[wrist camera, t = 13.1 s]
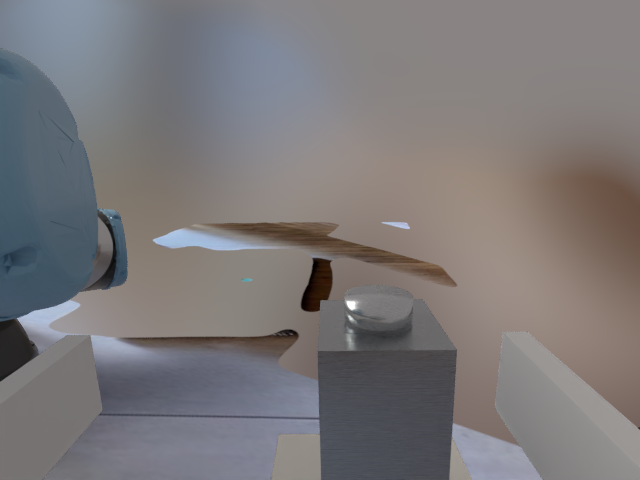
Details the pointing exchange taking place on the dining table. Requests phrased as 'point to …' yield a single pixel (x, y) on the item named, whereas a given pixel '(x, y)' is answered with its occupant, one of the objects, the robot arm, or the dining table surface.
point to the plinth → (305, 462)
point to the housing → (384, 387)
